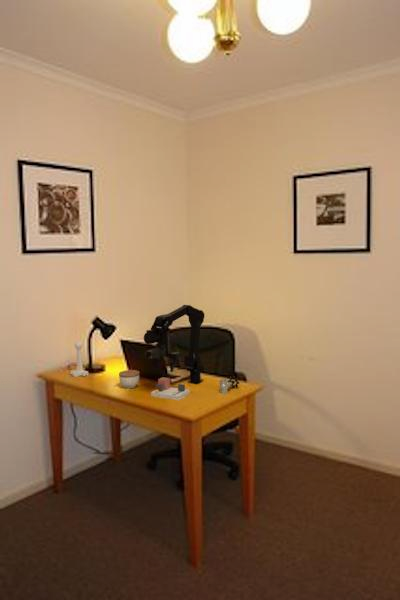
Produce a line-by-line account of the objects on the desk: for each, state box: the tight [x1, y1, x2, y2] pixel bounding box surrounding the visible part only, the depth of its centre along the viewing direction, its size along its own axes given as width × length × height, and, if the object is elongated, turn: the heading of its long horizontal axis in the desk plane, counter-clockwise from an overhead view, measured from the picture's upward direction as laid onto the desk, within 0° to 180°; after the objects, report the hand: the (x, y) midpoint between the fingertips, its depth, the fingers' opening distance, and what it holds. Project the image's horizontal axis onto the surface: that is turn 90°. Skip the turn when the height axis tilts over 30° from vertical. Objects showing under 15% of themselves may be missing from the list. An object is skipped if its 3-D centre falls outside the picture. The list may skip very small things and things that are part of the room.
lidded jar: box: [118, 369, 140, 390], centre depth 247 cm, size 11×11×9 cm
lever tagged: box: [155, 383, 163, 391], centre depth 233 cm, size 2×3×3 cm, turn 63°
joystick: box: [69, 340, 89, 378], centre depth 271 cm, size 11×8×20 cm
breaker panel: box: [150, 386, 191, 401], centre depth 233 cm, size 11×16×3 cm
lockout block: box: [157, 376, 171, 390], centre depth 237 cm, size 4×4×5 cm
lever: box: [177, 383, 186, 391], centre depth 232 cm, size 2×3×3 cm, turn 63°
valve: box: [219, 375, 240, 395], centre depth 238 cm, size 7×7×12 cm
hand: (163, 371), depth 236 cm, fingers open, 9 cm apart
